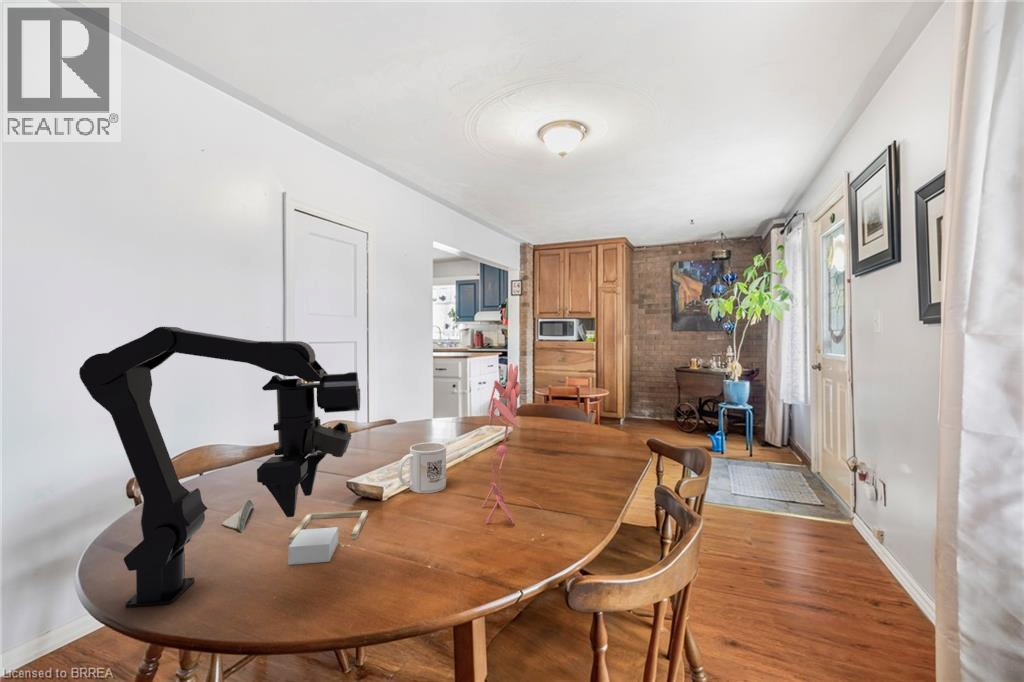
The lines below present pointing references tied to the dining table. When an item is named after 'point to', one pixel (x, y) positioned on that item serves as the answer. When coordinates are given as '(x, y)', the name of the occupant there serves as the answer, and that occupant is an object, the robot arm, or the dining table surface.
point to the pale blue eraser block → (313, 546)
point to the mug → (425, 467)
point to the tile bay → (319, 515)
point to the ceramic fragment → (239, 517)
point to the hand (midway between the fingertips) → (299, 505)
